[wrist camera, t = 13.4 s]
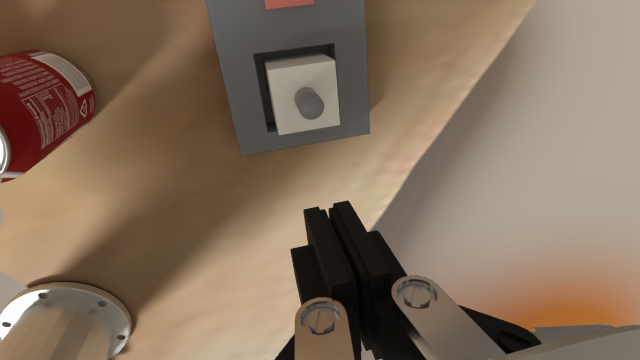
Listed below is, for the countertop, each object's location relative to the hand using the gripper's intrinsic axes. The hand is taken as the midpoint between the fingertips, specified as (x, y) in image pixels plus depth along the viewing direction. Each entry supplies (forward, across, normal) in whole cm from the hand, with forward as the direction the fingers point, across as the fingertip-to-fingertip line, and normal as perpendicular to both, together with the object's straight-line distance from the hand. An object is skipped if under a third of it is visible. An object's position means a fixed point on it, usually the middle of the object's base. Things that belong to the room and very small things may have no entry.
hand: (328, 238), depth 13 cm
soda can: (+23, +18, -3) cm, 29 cm away
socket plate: (+22, -2, -4) cm, 23 cm away
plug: (+22, -2, -1) cm, 22 cm away
